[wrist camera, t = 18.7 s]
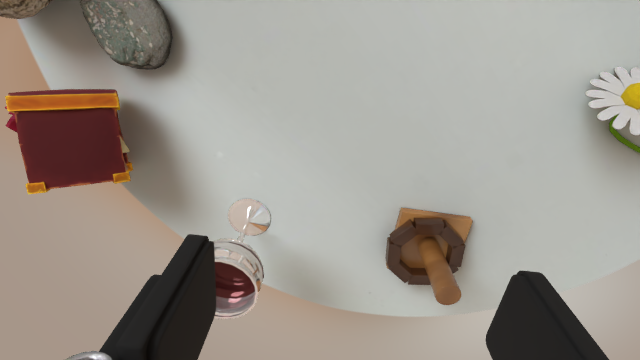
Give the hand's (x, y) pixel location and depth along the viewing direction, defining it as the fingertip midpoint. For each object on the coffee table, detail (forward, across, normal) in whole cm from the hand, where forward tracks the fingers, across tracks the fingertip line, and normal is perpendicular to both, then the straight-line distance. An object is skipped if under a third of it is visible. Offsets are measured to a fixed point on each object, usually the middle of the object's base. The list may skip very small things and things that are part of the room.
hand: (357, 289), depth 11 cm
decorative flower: (+27, -29, -2) cm, 40 cm away
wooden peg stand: (+27, -12, +16) cm, 33 cm away
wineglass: (+27, +9, +15) cm, 32 cm away
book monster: (+18, +23, +5) cm, 30 cm away
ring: (+26, -11, +16) cm, 32 cm away
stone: (+23, +18, -5) cm, 30 cm away
